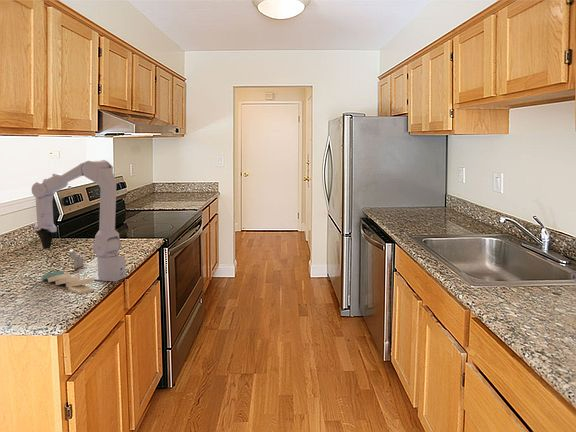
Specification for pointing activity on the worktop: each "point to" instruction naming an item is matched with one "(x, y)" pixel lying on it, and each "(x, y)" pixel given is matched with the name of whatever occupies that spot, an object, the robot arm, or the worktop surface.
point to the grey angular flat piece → (76, 259)
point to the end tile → (52, 274)
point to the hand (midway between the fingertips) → (46, 248)
